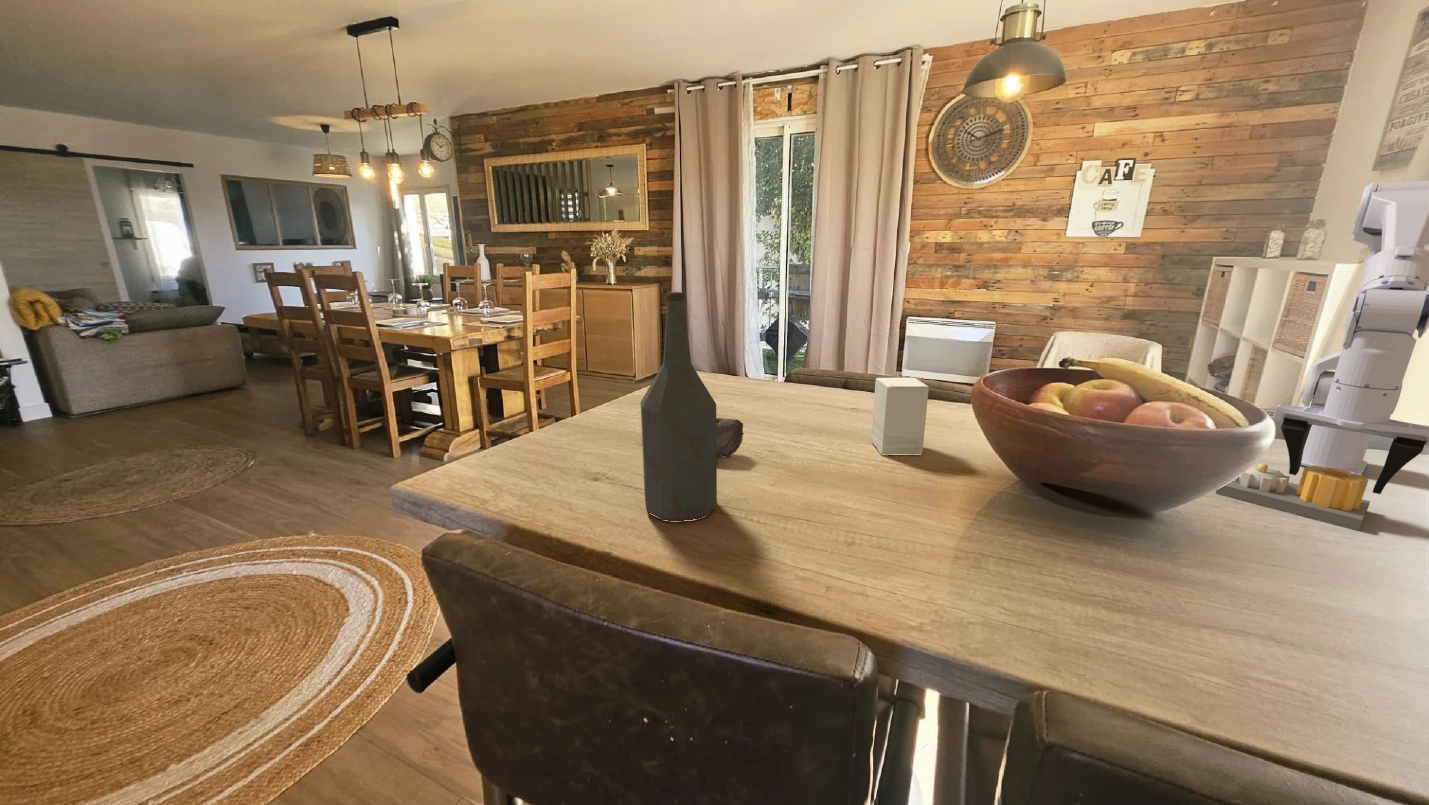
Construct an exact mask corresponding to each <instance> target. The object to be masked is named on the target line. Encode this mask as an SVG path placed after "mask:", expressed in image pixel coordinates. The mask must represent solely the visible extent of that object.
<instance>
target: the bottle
mask: <svg viewBox="0 0 1429 805" xmlns="http://www.w3.org/2000/svg"><path fill="white" fill-rule="evenodd" d="M665 296H666V301H667V304H666V305H667V306H666V307H667V308H666V316H665V318H666V319H665V331H664V332H665V333H664V347H663V358H662V359H663V361H662V365H661V366H660V368H659V370H658V371H657V373H656V375H655V377H654V379H653V380H652V382H651V384H650V385H649V386H648V388H647V390H646V392H645V394H644V395H643V398H642V399H641V401H640V416H641V418H640V419H641V420H640V421H641V423H640V424H641V442H642V443H641V444H642V460H643V461H642V462H643V464H642V465H643V486H644V503H645V508H646V512H648V514H649V513H651V514H653V515H655V516H657V517H659V518H661V519H663V520H668V521H684V520H693V519H699V518H702V517H704V516H706V515H707V514H708V513H709V512H710V511H711V510H712V509H713V508H715V507H716V506H717V504H718V503H717V502H718V499H717V498H718V496H717V494H718V493H717V492H718V490H717V488H718V487H717V486H718V481H717V480H718V479H717V476H718V473H717V470H718V469H717V467H718V466H717V462H718V461H717V459H718V458H717V437H716V418H717V403H716V401H715V400H714V398H713V396H712V395H711V393H710V392H709V390H708V388H707V387H706V385H705V384H704V381H702V379H701V377H700V375H699V373H698V372H697V371H696V369H695V367H694V366H693V364H692V359H691V352H690V351H691V349H690V342H689V341H690V340H689V334H688V324H687V317H686V308H685V297H686V295H685V293H684V292H683V291H669V292H667V293H666V295H665ZM713 510H714V509H713ZM713 510H712V511H713ZM712 511H711V512H712ZM711 512H710V513H711ZM710 513H709V514H710ZM709 514H708V515H709ZM708 515H707V516H708ZM702 519H703V518H702ZM699 520H700V519H699Z"/></svg>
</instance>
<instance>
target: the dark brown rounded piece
mask: <svg viewBox="0 0 1429 805" xmlns="http://www.w3.org/2000/svg"><path fill="white" fill-rule="evenodd" d="M743 429H744V423H743V422H742V421H741V420H739V419H736V418H735V419H734V418H723V417H716V437H717V456H721V455H722V456H726V457H725V458H727V457H729V456H731V455H732V453H733V454H735V453H736V452H737V451H738V449H739V448H740V446H741V444H742V442H743V438H744V437H743V435H744V434H745V433H744V431H743ZM734 452H735V453H734Z"/></svg>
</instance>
